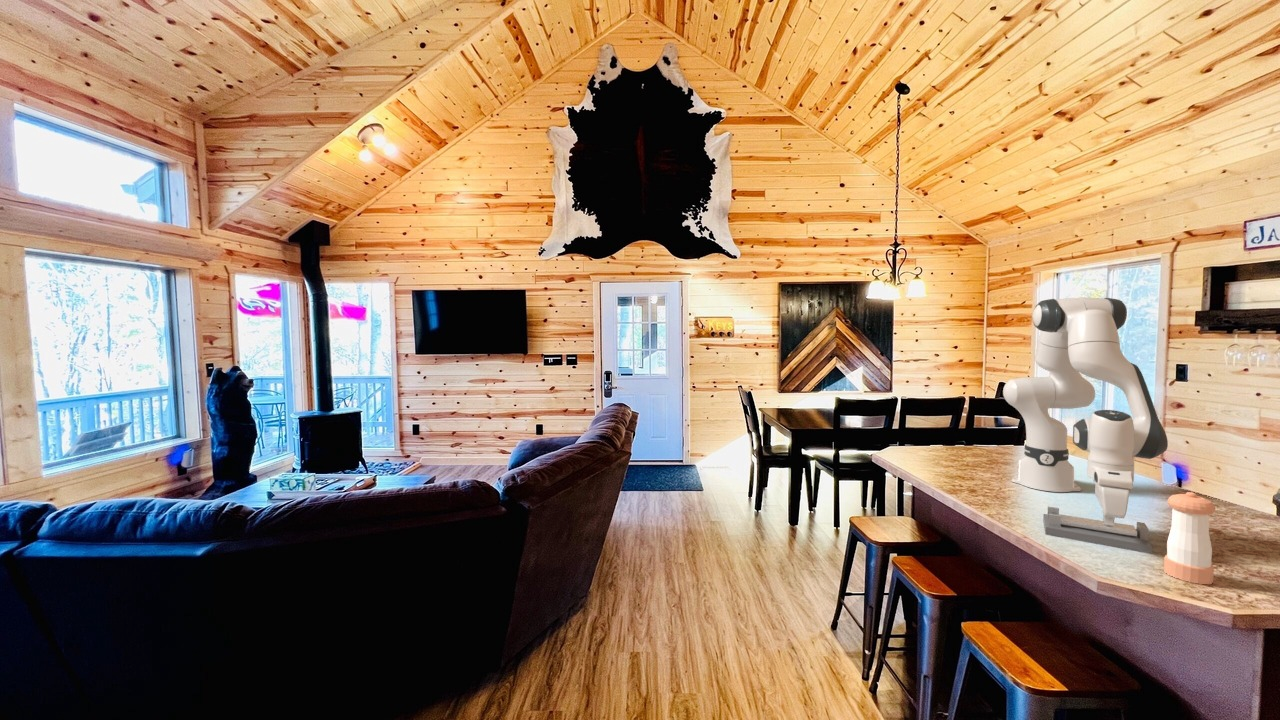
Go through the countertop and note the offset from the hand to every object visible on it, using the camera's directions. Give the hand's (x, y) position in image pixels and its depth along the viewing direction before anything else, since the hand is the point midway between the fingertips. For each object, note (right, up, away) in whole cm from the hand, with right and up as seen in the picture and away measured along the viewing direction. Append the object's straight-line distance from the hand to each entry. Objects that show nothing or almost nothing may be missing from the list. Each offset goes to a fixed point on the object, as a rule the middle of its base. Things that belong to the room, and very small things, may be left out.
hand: (1108, 523), depth 127 cm
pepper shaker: (-2, -5, -20) cm, 21 cm away
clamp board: (-2, -4, +2) cm, 5 cm away
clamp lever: (-3, -2, +2) cm, 4 cm away
